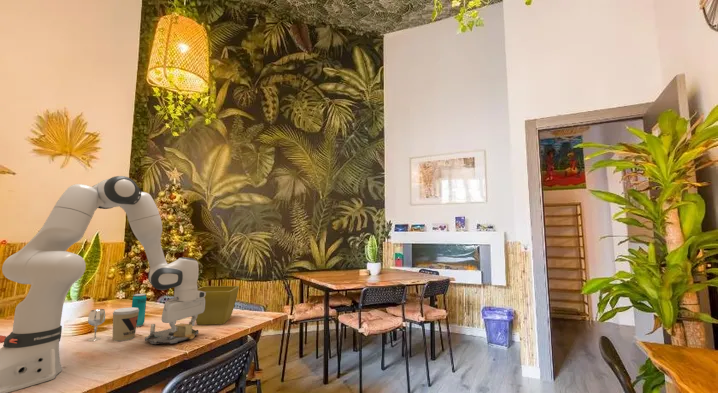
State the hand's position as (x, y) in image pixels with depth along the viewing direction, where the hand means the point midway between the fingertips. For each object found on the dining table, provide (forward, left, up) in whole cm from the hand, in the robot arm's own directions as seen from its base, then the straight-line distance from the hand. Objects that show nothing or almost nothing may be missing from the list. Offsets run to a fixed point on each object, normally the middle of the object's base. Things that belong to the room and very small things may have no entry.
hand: (183, 328), depth 140 cm
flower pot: (+29, +8, -5) cm, 31 cm away
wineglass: (-11, +35, -5) cm, 37 cm away
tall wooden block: (0, 0, -2) cm, 2 cm away
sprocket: (0, +5, -5) cm, 7 cm away
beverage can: (+10, +37, -5) cm, 39 cm away
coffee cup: (-6, +25, -5) cm, 27 cm away
